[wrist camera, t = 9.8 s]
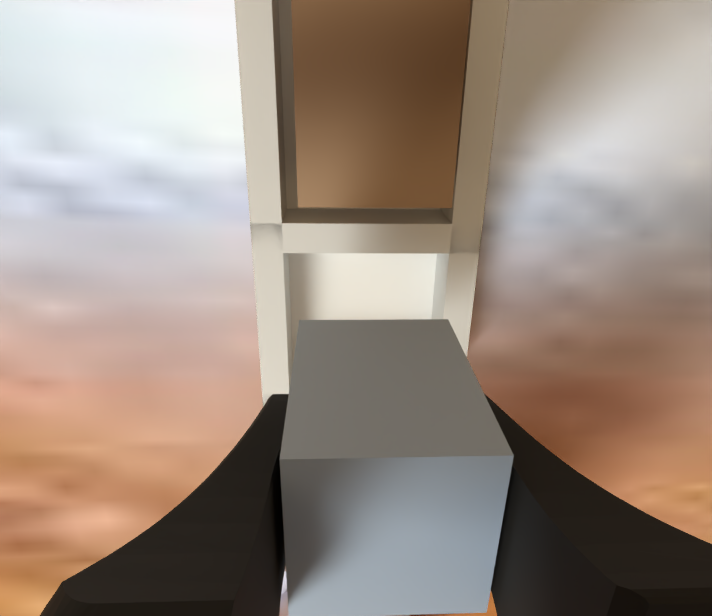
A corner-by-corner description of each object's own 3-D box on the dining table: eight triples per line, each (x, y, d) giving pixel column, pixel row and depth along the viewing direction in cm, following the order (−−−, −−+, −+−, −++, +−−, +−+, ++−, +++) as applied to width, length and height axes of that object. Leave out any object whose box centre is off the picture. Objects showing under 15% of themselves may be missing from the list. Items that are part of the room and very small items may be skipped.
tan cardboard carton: (421, 174, 18) (451, 208, 13) (307, 173, 18) (298, 207, 13) (434, -28, 16) (477, -72, 11) (302, -31, 15) (288, -77, 11)
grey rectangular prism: (436, 439, 15) (486, 612, 10) (303, 441, 15) (288, 618, 10) (448, 319, 14) (513, 455, 9) (299, 320, 14) (279, 459, 9)
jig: (450, 373, 23) (466, 414, 20) (266, 375, 22) (257, 417, 19) (498, -89, 16) (533, -124, 13) (235, -97, 15) (214, -134, 13)
